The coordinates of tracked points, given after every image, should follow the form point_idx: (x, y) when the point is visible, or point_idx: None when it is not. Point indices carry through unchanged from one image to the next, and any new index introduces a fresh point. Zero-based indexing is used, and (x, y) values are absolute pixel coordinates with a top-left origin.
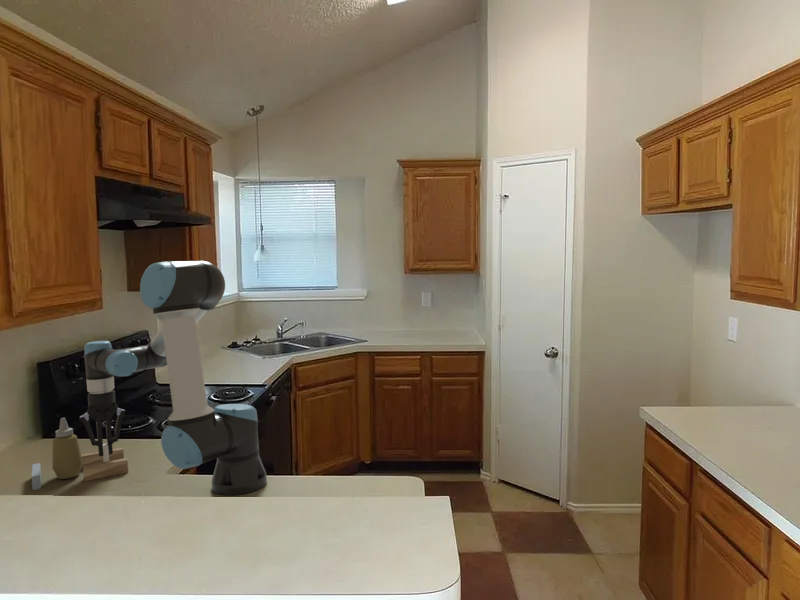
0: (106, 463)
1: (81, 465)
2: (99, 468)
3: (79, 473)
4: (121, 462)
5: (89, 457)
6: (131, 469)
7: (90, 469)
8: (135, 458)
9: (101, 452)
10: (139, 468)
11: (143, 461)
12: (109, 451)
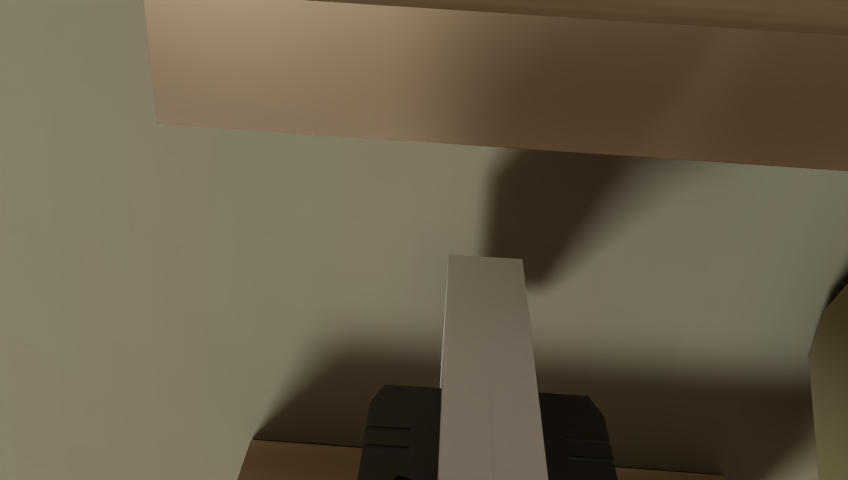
0: (549, 27)
1: (846, 367)
2: (675, 5)
3: (832, 304)
4: None
5: None
6: None
7: (839, 21)
8: (119, 444)
9: (564, 444)
10: (55, 25)
11: (15, 285)
12: (421, 429)
